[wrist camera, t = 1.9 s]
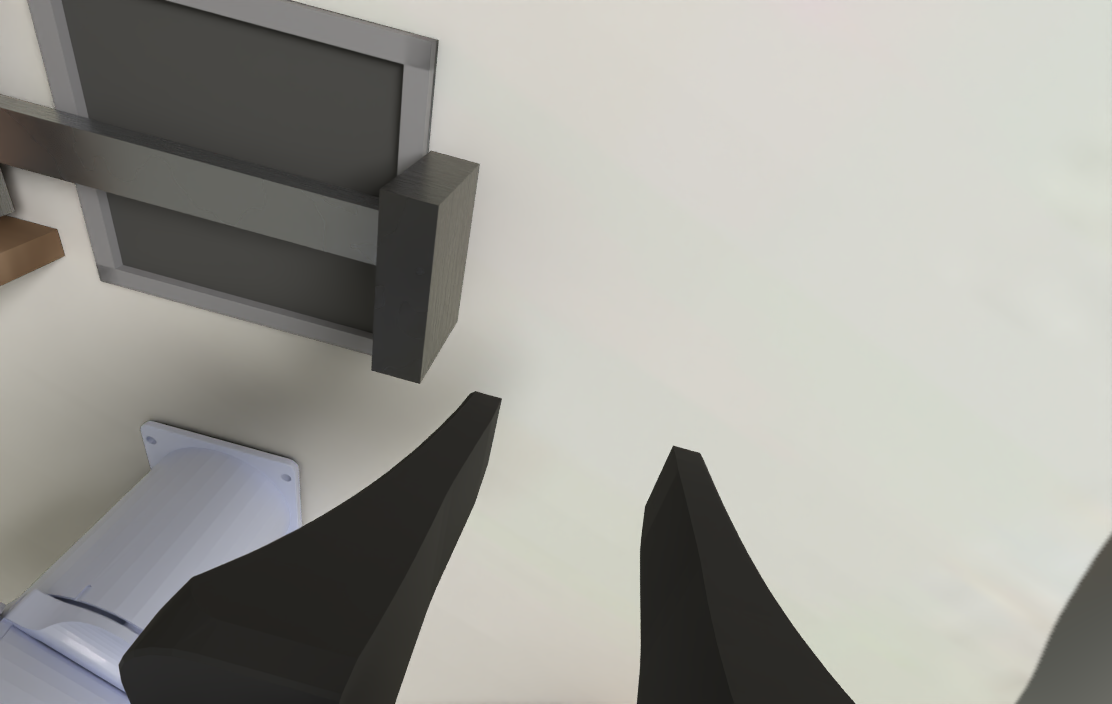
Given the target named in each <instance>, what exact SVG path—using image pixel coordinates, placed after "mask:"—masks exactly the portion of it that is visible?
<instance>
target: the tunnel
mask: <svg viewBox="0 0 1112 704" xmlns="http://www.w3.org/2000/svg"><path fill="white" fill-rule="evenodd" d="M63 256H65V255H64V251H63V248H62V244H61V241H60V238H59V234H58V231H57V229H54V228H50V227H46V226H43V225H39V224H35V223H32V222H28V221H24V220H21V219H17V218H13V217H10V216H6V215H4V216H1V217H0V286H1V285H4V284H6V283H8V282H10V281H12V280H14V279H16V278H19V277H21V276H23V275H25V274H27V273H29V272H31V271H34V270H36V269H38V268H40V267H42V266H44V265H46V264H49V263H51V262H53V261H55V260H57V259H59V258H61V257H63Z"/></svg>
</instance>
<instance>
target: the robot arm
mask: <svg viewBox="0 0 1112 704" xmlns="http://www.w3.org/2000/svg"><path fill="white" fill-rule="evenodd" d="M501 400H502V399H501V398H498V397H494V396H490V395H487V394H483V393H480V392H476V391H475V392H473V393H471V394H469V396H468V397H467V398H466V399H465V401H464V402H463V403H462V404H461V405H460V406H459V408H458V409H457V410H456V411H455V412H454V413H453V414H452V415H451V416H450V417H449V418H448V419H447V420H446V421H445V422H444V423H443V424H442V425H441V426H440V427H439V428H438V429H437V430H436V431H435V432H434V433H433V434H432V435H431V436H429V437H428V438H427V439H426V440H425V441H424V442H423V443H422V444H421V445H420V446H419V447H417V448H416V449H415V450H414V451H413V452H412V453H410V454H409V455H408V456H407V457H405V458H404V459H403V460H402V461H401V462H399V463H398V464H397V465H396V466H394V467H393V468H392V469H391V470H389V471H388V472H387V473H386V474H384V475H383V476H381V477H380V478H379V479H377V480H376V481H375V482H373V483H372V484H370V485H369V486H368V487H366V488H365V489H363V490H362V491H360V492H359V493H357V494H356V495H354V496H353V497H351V498H350V499H348V500H347V501H345V502H343V503H342V504H340V505H339V506H337V507H335V508H334V509H332V510H330V511H329V512H327V513H326V514H324V515H322V516H320V517H319V518H317V519H315V520H313V521H312V522H310V523H308V524H306V525H304V526H302V517H301V497H300V477H299V467H298V465H297V463H296V462H294V461H293V460H291V459H288V458H284V457H281V456H277V455H274V454H270V453H266V452H263V451H259V450H255V449H252V448H248V447H245V446H241V445H237V444H234V443H230V442H227V441H223V440H219V439H216V438H212V437H208V436H205V435H201V434H198V433H194V432H190V431H187V430H183V429H180V428H176V427H172V426H169V425H165V424H161V423H158V422H154V421H147V422H145V423H144V424H143V425H142V426H141V434H142V438H143V441H144V445H145V449H146V453H147V457H148V461H149V464H150V468H151V470H150V471H149V472H148V473H147V474H146V475H145V476H144V477H143V478H142V479H141V480H140V481H139V482H138V483H137V484H136V485H135V486H134V487H133V488H132V489H131V490H130V491H129V492H128V493H127V494H126V495H124V496H123V497H122V498H121V499H120V500H119V501H118V502H117V503H116V504H115V505H114V506H113V507H112V508H111V509H110V510H109V511H108V512H107V513H106V514H105V515H104V516H103V517H102V518H101V519H100V520H98V521H97V522H96V523H95V524H94V525H93V526H92V527H91V528H90V529H89V530H88V531H87V532H86V533H85V534H84V535H83V536H82V537H81V538H80V539H79V540H78V541H77V542H76V543H75V544H74V545H73V546H71V547H70V548H69V549H68V550H67V551H66V552H65V553H64V554H63V555H62V556H61V557H60V558H59V559H58V560H57V561H56V562H55V563H54V564H53V565H52V566H51V567H50V568H49V569H48V570H47V571H46V572H44V573H43V574H42V575H41V576H40V577H39V578H38V579H37V580H36V581H35V582H34V583H33V584H32V585H31V586H30V587H29V588H28V589H27V590H26V591H25V592H24V593H23V594H22V595H21V596H20V597H18V598H17V599H16V600H14V601H12V602H10V603H9V604H7V605H5V604H3V603H2V602H0V704H395V702H396V699H397V696H398V693H399V690H400V687H401V684H402V681H403V678H404V675H405V673H406V670H407V667H408V664H409V661H410V658H411V655H412V652H413V649H414V646H415V644H416V641H417V638H418V635H419V632H420V629H421V626H422V624H423V621H424V618H425V615H426V612H427V609H428V607H429V604H430V602H431V599H432V597H433V595H434V592H435V590H436V587H437V585H438V583H439V581H440V579H441V576H442V574H443V572H444V570H445V568H446V565H447V563H448V561H449V559H450V557H451V554H452V552H453V550H454V548H455V546H456V544H457V541H458V539H459V537H460V535H461V533H462V530H463V528H464V526H465V524H466V522H467V519H468V517H469V515H470V513H471V510H472V508H473V506H474V504H475V501H476V498H477V495H478V492H479V489H480V486H481V483H482V480H483V477H484V474H485V471H486V468H487V465H488V461H489V456H490V452H491V447H492V442H493V438H494V433H495V428H496V424H497V419H498V414H499V409H500V405H501ZM640 610H641V656H640V675H639V686H638V697H637V704H855V703H854V701H853V700H852V699H851V698H850V697H849V696H848V695H847V694H846V692H845V691H844V690H843V689H842V688H841V686H840V685H839V684H838V683H837V682H836V680H835V679H834V678H833V677H832V676H831V674H830V673H829V672H828V671H827V670H826V668H825V667H824V666H823V664H822V663H821V662H820V660H819V659H818V658H817V657H816V655H815V654H814V653H813V651H812V650H811V649H810V648H809V646H808V645H807V644H806V642H805V641H804V640H803V638H802V637H801V636H800V634H799V633H798V632H797V630H796V629H795V627H794V626H793V625H792V623H791V622H790V620H789V619H788V617H787V616H786V614H785V613H784V611H783V610H782V608H781V607H780V606H779V604H778V603H777V601H776V600H775V598H774V597H773V595H772V594H771V592H770V590H769V589H768V587H767V586H766V584H765V582H764V581H763V579H762V577H761V576H760V574H759V572H758V570H757V569H756V567H755V565H754V563H753V562H752V560H751V558H750V556H749V554H748V553H747V551H746V549H745V547H744V545H743V543H742V541H741V539H740V537H739V535H738V533H737V531H736V529H735V527H734V525H733V523H732V521H731V519H730V517H729V515H728V513H727V511H726V509H725V507H724V505H723V503H722V501H721V498H720V496H719V494H718V492H717V490H716V487H715V485H714V483H713V481H712V478H711V476H710V474H709V471H708V469H707V467H706V464H705V462H704V460H703V458H702V456H701V454H700V453H698V452H694V451H691V450H687V449H683V448H680V447H676V446H673V447H672V449H671V452H670V454H669V456H668V458H667V460H666V462H665V465H664V467H663V469H662V471H661V473H660V475H659V478H658V480H657V482H656V484H655V486H654V488H653V491H652V493H651V495H650V497H649V499H648V501H647V504H646V506H645V512H644V520H643V528H642V537H641V546H640Z"/></svg>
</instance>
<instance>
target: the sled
mask: <svg viewBox="0 0 1112 704" xmlns="http://www.w3.org/2000/svg"><path fill="white" fill-rule="evenodd" d="M0 163H3V164H7V165H10V166H14V167H17V168H21V169H25V170H28V171H32V172H36V173H39V174H43V175H47V176H50V177H54V178H58V179H61V180H65V181H69V182H72V183H76V184H80V185H83V186H87V187H91V188H94V189H98V190H102V191H105V192H109V193H113V194H116V195H120V196H124V197H127V198H131V199H135V200H138V201H142V202H146V203H149V204H153V205H157V206H160V207H164V208H168V209H171V210H175V211H179V212H182V213H186V214H190V215H193V216H197V217H201V218H204V219H208V220H212V221H215V222H219V223H223V224H226V225H230V226H233V227H237V228H241V229H244V230H248V231H252V232H255V233H259V234H263V235H266V236H270V237H274V238H277V239H281V240H285V241H288V242H292V243H296V244H299V245H303V246H307V247H310V248H314V249H318V250H321V251H325V252H329V253H332V254H336V255H340V256H343V257H347V258H351V259H354V260H358V261H362V262H365V263H369V264H373V265H376V280H375V302H374V325H373V347H372V369H371V370H372V371H376V372H379V373H383V374H386V375H390V376H394V377H397V378H401V379H405V380H408V381H412V382H416V383H419V384H420V383H421V381H422V379H423V378H424V376H425V374H426V373H427V371H428V369H429V368H430V366H431V364H432V363H433V361H434V359H435V358H436V356H437V354H438V353H439V351H440V349H441V348H442V346H443V344H444V343H445V341H446V339H447V338H448V336H449V334H450V333H451V331H452V329H453V328H454V326H455V324H456V323H457V320H458V313H459V306H460V299H461V292H462V285H463V278H464V271H465V264H466V257H467V250H468V243H469V236H470V229H471V222H472V215H473V208H474V201H475V194H476V187H477V180H478V173H479V166H480V164H478V163H474V162H471V161H467V160H463V159H460V158H456V157H452V156H449V155H445V154H441V153H437V152H434V151H430V152H429V153H427V154H426V155H425V156H423V157H422V158H421V159H419V160H418V161H417V162H415V163H414V164H413V165H411V166H410V167H409V168H407V169H406V170H405V171H403V172H402V173H401V174H399V175H398V176H397V177H395V178H394V179H393V180H391V181H390V182H389V183H387V184H386V185H385V186H383V187H382V188H381V189H380V191H379V197H376V196H372V195H369V194H365V193H361V192H358V191H354V190H350V189H347V188H343V187H339V186H335V185H332V184H328V183H324V182H321V181H317V180H313V179H310V178H306V177H302V176H299V175H295V174H291V173H288V172H284V171H280V170H277V169H273V168H269V167H266V166H262V165H258V164H255V163H251V162H247V161H244V160H240V159H236V158H233V157H229V156H225V155H222V154H218V153H214V152H210V151H207V150H203V149H199V148H196V147H192V146H188V145H185V144H181V143H177V142H174V141H170V140H166V139H163V138H159V137H155V136H152V135H148V134H144V133H141V132H137V131H133V130H130V129H126V128H122V127H119V126H115V125H111V124H108V123H104V122H100V121H96V120H93V119H89V118H85V117H82V116H78V115H74V114H71V113H67V112H63V111H60V110H56V109H52V108H49V107H45V106H41V105H38V104H34V103H30V102H27V101H23V100H19V99H16V98H12V97H8V96H5V95H1V94H0ZM12 212H15V211H14V208H13V205H12V202H11V199H10V196H9V193H8V189H7V186H6V183H5V180H4V177H3V174H2V171H1V168H0V217H1V216H4V215H7V214H9V213H12Z"/></svg>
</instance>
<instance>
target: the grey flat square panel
mask: <svg viewBox="0 0 1112 704" xmlns="http://www.w3.org/2000/svg"><path fill="white" fill-rule="evenodd" d="M27 1H28V5H29V8H30V12H31V16H32V20H33V24H34V28H35V31H36V35H37V39H38V43H39V47H40V50H41V54H42V58H43V62H44V66H45V70H46V73H47V77H48V81H49V85H50V89H51V93H52V96H53V100H54V104H55V108H56V110H60V111H63V112H67V113H71V114H74V115H78V116H82V117H85V118H89V119H93V120H96V121H100V122H104V123H108V124H111V125H115V126H119V127H122V128H126V129H130V130H133V131H137V132H141V133H144V134H148V135H152V136H155V137H159V138H163V139H166V140H170V141H174V142H177V143H181V144H185V145H188V146H192V147H196V148H199V149H203V150H207V151H210V152H214V153H218V154H222V155H225V156H229V157H233V158H236V159H240V160H244V161H247V162H251V163H255V164H258V165H262V166H266V167H269V168H273V169H277V170H280V171H284V172H288V173H291V174H295V175H299V176H302V177H306V178H310V179H313V180H317V181H321V182H324V183H328V184H332V185H335V186H339V187H343V188H347V189H350V190H354V191H358V192H361V193H365V194H369V195H372V196H376V197H379V191H380V189H381V188H382V187H383V186H385V185H386V184H387V183H389V182H390V181H391V180H393V179H394V178H395V177H397V176H398V175H399V174H401V173H402V172H403V171H405V170H406V169H407V168H409V167H410V166H411V165H413V164H414V163H415V162H417V161H418V160H419V159H421V158H422V157H423V156H425V155H426V154H427V153H428V151H429V140H430V129H431V118H432V107H433V96H434V85H435V74H436V63H437V52H438V41H439V40H436V39H432V38H429V37H425V36H421V35H418V34H414V33H410V32H406V31H403V30H399V29H395V28H392V27H388V26H384V25H380V24H377V23H373V22H369V21H366V20H362V19H358V18H354V17H351V16H347V15H343V14H340V13H336V12H332V11H328V10H325V9H321V8H317V7H314V6H310V5H306V4H302V3H299V2H295V1H291V0H27ZM75 184H76V183H75ZM76 188H77V192H78V196H79V200H80V204H81V207H82V211H83V215H84V219H85V223H86V227H87V230H88V234H89V238H90V242H91V246H92V250H93V253H94V257H95V261H96V265H97V269H98V273H99V276H100V280H101V281H103V282H106V283H110V284H114V285H117V286H121V287H124V288H128V289H132V290H135V291H139V292H143V293H146V294H150V295H154V296H157V297H161V298H164V299H168V300H172V301H175V302H179V303H183V304H186V305H190V306H194V307H197V308H201V309H205V310H208V311H212V312H215V313H219V314H223V315H226V316H230V317H234V318H237V319H241V320H245V321H248V322H252V323H256V324H259V325H263V326H266V327H270V328H274V329H277V330H281V331H285V332H288V333H292V334H296V335H299V336H303V337H306V338H310V339H314V340H317V341H321V342H325V343H328V344H332V345H336V346H339V347H343V348H347V349H350V350H354V351H357V352H361V353H365V354H368V355H372V347H373V325H374V302H375V280H376V265H373V264H369V263H365V262H362V261H358V260H354V259H351V258H347V257H343V256H340V255H336V254H332V253H329V252H325V251H321V250H318V249H314V248H310V247H307V246H303V245H299V244H296V243H292V242H288V241H285V240H281V239H277V238H274V237H270V236H266V235H263V234H259V233H255V232H252V231H248V230H244V229H241V228H237V227H233V226H230V225H226V224H223V223H219V222H215V221H212V220H208V219H204V218H201V217H197V216H193V215H190V214H186V213H182V212H179V211H175V210H171V209H168V208H164V207H160V206H157V205H153V204H149V203H146V202H142V201H138V200H135V199H131V198H127V197H124V196H120V195H116V194H113V193H109V192H105V191H102V190H98V189H94V188H91V187H87V186H83V185H80V184H76Z"/></svg>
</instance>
